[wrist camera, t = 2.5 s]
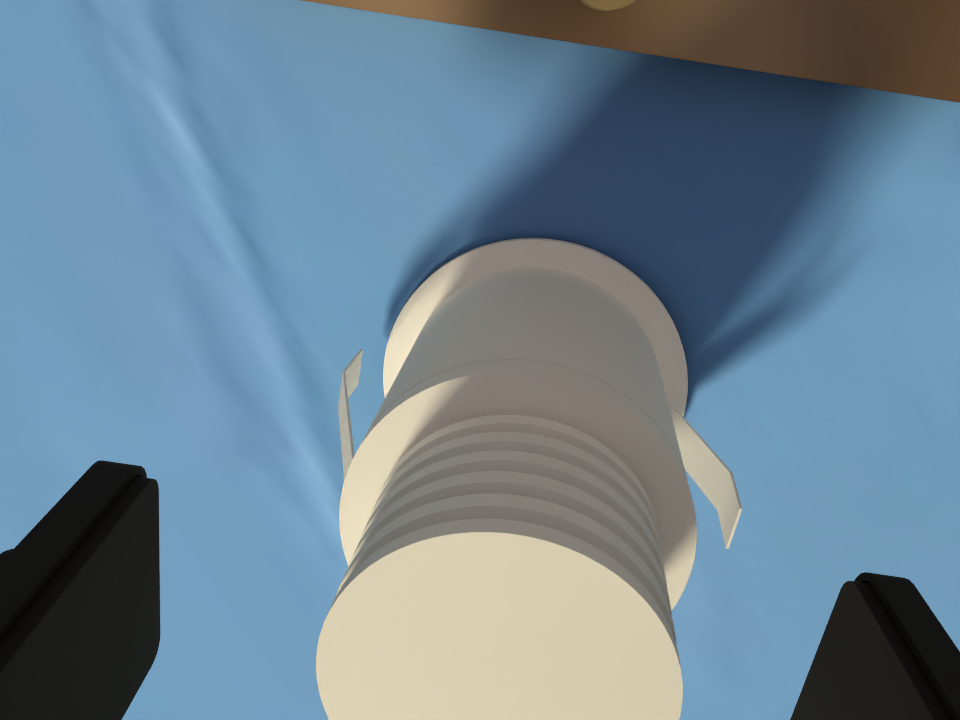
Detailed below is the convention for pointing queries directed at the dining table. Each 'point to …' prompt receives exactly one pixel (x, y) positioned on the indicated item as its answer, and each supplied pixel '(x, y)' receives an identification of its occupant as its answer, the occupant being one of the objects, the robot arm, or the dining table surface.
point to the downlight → (520, 500)
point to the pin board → (739, 34)
